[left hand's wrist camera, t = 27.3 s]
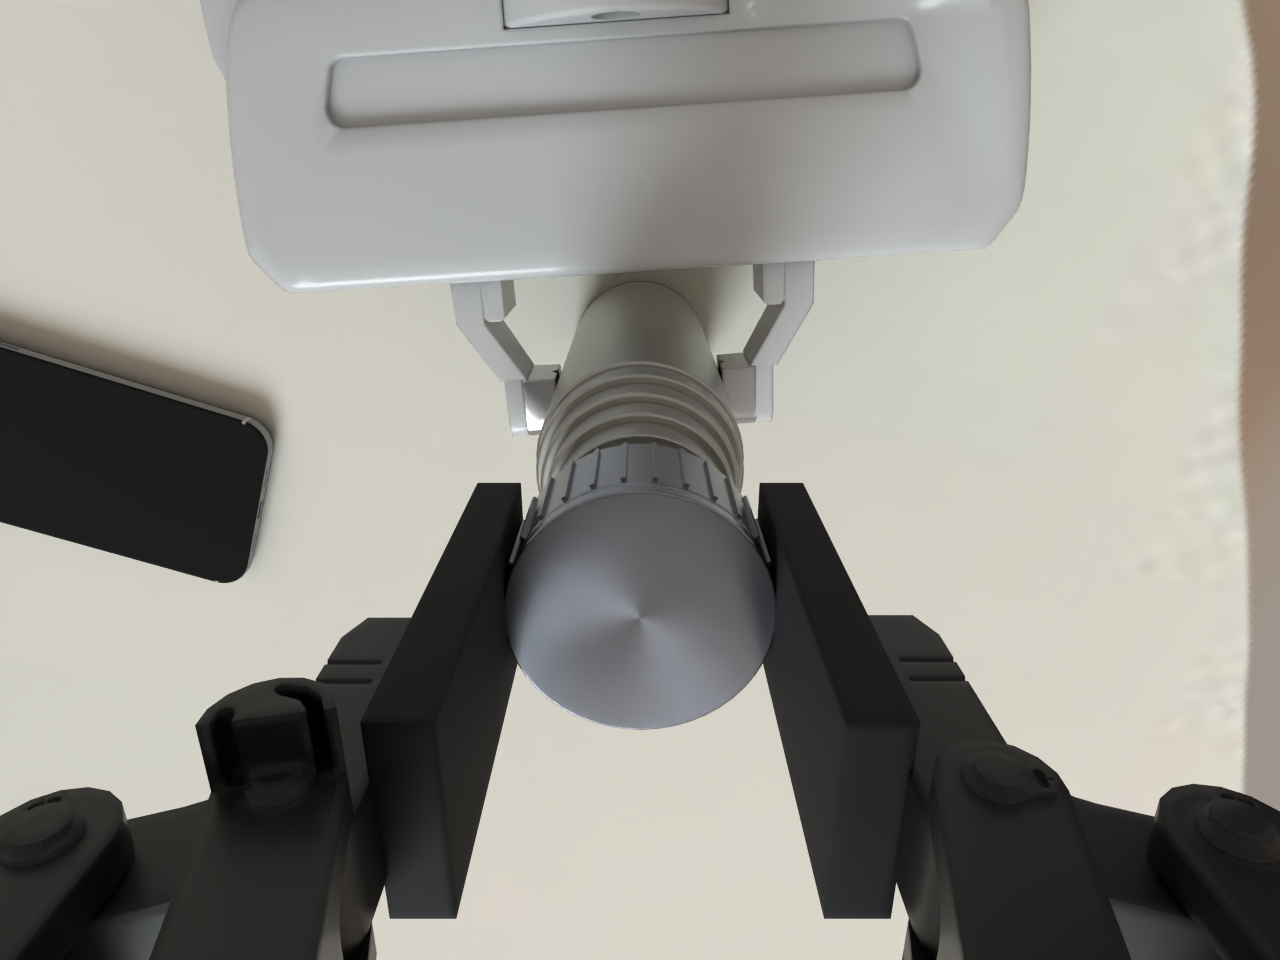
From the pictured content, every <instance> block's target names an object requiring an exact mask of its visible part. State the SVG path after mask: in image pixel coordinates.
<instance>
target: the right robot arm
mask: <svg viewBox="0 0 1280 960" xmlns="http://www.w3.org/2000/svg"><path fill="white" fill-rule="evenodd" d="M200 3H201V7H202V12H203V16H204V21H205V25H206V30H207V34H208V38H209V43H210V47H211V51H212V54H213V57H214V59H215V61H216V63H217V66H218V67H219V69H220V71H221V73H222V75H223V76H224V78H225V79H226V84H227V104H228V118H229V132H230V143H231V152H232V161H233V171H234V178H235V185H236V192H237V199H238V206H239V212H240V218H241V224H242V230H243V234H244V239H245V244H246V247H247V250H248V253H249V255H250V257H251V259H252V260H253V262H254V263H255V264H256V265H257V266H258V267H259V268H260V269H261V270H262V271H263V272H264V273H265V274H266V275H267V276H268V277H269V278H270V279H271V280H272V281H273V282H274V283H275V284H276V285H278V286H279V287H280V288H281V289H282V290H284V291H285V292H288V293H294V294H295V293H313V292H329V291H345V290H360V289H376V288H392V287H407V286H423V285H439V284H451V290H452V297H453V304H454V311H455V318H456V325H457V326H458V328H459V329H460V330H461V332H462V333H463V334H464V335H465V337H466V338H467V339H468V341H469V342H470V343H471V345H472V346H473V347H474V348H475V350H476V351H477V352H478V354H479V355H480V356H481V358H482V359H483V360H484V361H485V363H486V364H487V365H488V367H489V368H490V369H491V371H492V372H493V373H494V374H495V376H496V377H497V378H498V380H499V381H504V383H505V391H506V399H507V407H508V415H509V422H510V430H511V432H512V435H513V436H530V435H540V431H541V428H542V425H543V422H544V420H545V417H546V414H547V411H548V408H549V406H550V403H551V400H552V397H553V394H554V392H555V389H556V386H557V383H558V381H559V378H560V375H561V367H560V364H558V365H534V364H533V362H532V361H531V359H530V358H529V356H528V355H527V353H526V352H525V351H524V349H523V348H522V346H521V345H520V343H519V342H518V340H517V339H516V338H515V336H514V335H513V333H512V332H511V330H510V329H509V327H508V326H507V325H506V323H505V322H504V319H505V317H506V316H507V315H508V314H509V313H510V311H511V310H512V309H513V308H514V306H515V305H516V300H515V290H514V281H513V280H517V279H533V278H549V277H564V276H580V275H596V274H611V273H627V272H643V271H658V270H674V269H690V268H705V267H721V266H737V265H753V284H754V290H755V292H756V293H757V294H758V295H759V297H760V298H761V299H762V300H763V301H764V302H765V303H766V304H767V307H766V308H765V310H764V312H763V314H762V316H761V318H760V320H759V322H758V323H757V325H756V327H755V329H754V331H753V333H752V335H751V337H750V339H749V340H748V342H747V344H746V346H745V348H744V350H743V352H744V353H733V354H721V355H717V369H718V372H719V375H720V378H721V380H722V383H723V386H724V389H725V392H726V394H727V397H728V400H729V403H730V406H731V408H732V411H733V414H734V417H735V419H736V422H737V423H754V422H770V421H771V420H772V416H773V365H776V364H778V363H779V361H780V359H781V358H782V356H783V354H784V352H785V351H786V349H787V347H788V346H789V344H790V342H791V341H792V339H793V337H794V336H795V334H796V332H797V330H798V329H799V327H800V325H801V324H802V322H803V320H804V319H805V317H806V315H807V314H808V312H809V310H810V308H811V307H812V305H813V303H814V261H815V260H831V259H847V258H862V257H878V256H894V255H909V254H925V253H941V252H956V251H971V250H981V249H984V248H986V247H988V246H989V245H990V244H991V243H992V242H993V241H994V240H995V239H996V238H997V236H998V235H999V234H1000V233H1001V232H1002V230H1003V229H1004V228H1005V226H1006V225H1007V224H1008V223H1009V221H1010V220H1011V219H1012V217H1013V216H1014V215H1015V214H1016V212H1017V211H1018V209H1019V207H1020V205H1021V201H1022V198H1023V193H1024V187H1025V180H1026V171H1027V160H1028V148H1029V132H1030V109H1031V40H1030V14H1029V2H1028V0H200Z"/></svg>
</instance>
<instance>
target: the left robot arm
mask: <svg viewBox="0 0 1280 960" xmlns="http://www.w3.org/2000/svg"><path fill="white" fill-rule="evenodd" d="M522 520H523V514H522V496H521V483H477V485H476V487H475V490H474V492H473V494H472V496H471V498H470V500H469V502H468V504H467V506H466V508H465V510H464V512H463V514H462V516H461V518H460V520H459V522H458V524H457V526H456V528H455V530H454V532H453V534H452V536H451V538H450V540H449V542H448V544H447V546H446V548H445V551H444V553H443V555H442V557H441V559H440V561H439V563H438V565H437V567H436V569H435V571H434V573H433V575H432V577H431V579H430V581H429V583H428V585H427V587H426V589H425V591H424V593H423V595H422V597H421V599H420V601H419V603H418V605H417V607H416V610H415V612H414V614H413V616H412V618H367V619H366V620H365V621H363V622H362V623H360V624H359V625H358V626H356V627H355V628H354V629H352V630H351V631H350V632H348V633H347V634H346V635H344V636H343V637H342V638H341V639H340V641H339V643H338V644H337V646H336V647H335V649H334V651H333V652H332V654H331V656H330V657H329V659H328V664H327V665H324V667H323V669H322V670H321V672H320V673H319V675H318V677H317V678H316V681H313V680H310V679H306V678H277V679H273V680H268V681H263V682H259V683H254V684H251V685H249V686H247V687H244V688H242V689H240V690H237V691H235V692H232V693H230V694H228V695H226V696H225V697H224V698H222V699H221V700H219V701H218V702H217V703H215V704H214V705H212V706H211V707H210V708H208V709H207V710H206V712H205V713H204V714H203V716H202V717H201V718H200V720H199V721H198V722H197V724H196V725H195V727H196V731H197V735H198V739H199V743H200V747H201V751H202V756H203V760H204V764H205V768H206V772H207V776H208V780H209V784H210V788H211V794H210V797H209V799H208V800H206V801H203V802H199V803H196V804H192V805H189V806H186V807H182V808H177V809H173V810H169V811H164V812H160V813H155V814H151V815H146V816H142V817H138V818H133V819H129V820H127V818H126V815H125V812H124V808H123V805H122V802H121V801H120V800H119V799H118V798H117V797H116V796H114V795H113V794H112V793H111V792H110V791H106V790H100V789H95V788H90V787H86V788H77V789H68V790H60V791H57V792H54V793H51V794H48V795H45V796H41V797H39V798H35V799H32V800H30V801H28V802H26V803H24V804H22V805H20V806H18V807H16V808H14V809H12V810H11V811H9V812H7V813H5V814H3V815H1V816H0V960H376V954H377V952H376V946H375V939H374V933H373V927H372V919H373V917H374V914H375V911H376V908H377V905H378V902H379V899H380V896H381V894H382V891H383V888H384V885H385V890H386V896H387V903H388V910H389V916H390V919H456V918H457V913H458V909H459V905H460V901H461V897H462V892H463V888H464V884H465V880H466V876H467V872H468V867H469V863H470V859H471V855H472V851H473V847H474V842H475V838H476V834H477V830H478V826H479V822H480V817H481V813H482V809H483V805H484V801H485V797H486V792H487V788H488V784H489V780H490V776H491V772H492V767H493V763H494V759H495V755H496V751H497V747H498V742H499V738H500V734H501V730H502V726H503V722H504V717H505V713H506V709H507V705H508V701H509V697H510V692H511V688H512V684H513V680H514V676H515V672H516V667H517V662H516V659H515V657H514V655H513V653H512V651H511V649H510V646H509V643H508V639H507V630H506V616H505V600H504V593H505V586H506V583H507V580H508V577H509V573H510V570H511V567H509V566H508V563H509V560H510V557H511V553H512V550H513V547H514V544H515V541H516V538H517V535H518V532H519V529H520V525H521V522H522ZM758 522H759V525H760V528H761V531H762V534H763V537H764V540H765V543H766V546H767V549H768V553H769V556H770V559H771V562H772V565H771V566H769V569H770V572H771V576H772V579H773V582H774V585H775V591H776V608H775V623H774V636H773V640H772V644H771V647H770V649H769V651H768V654H767V656H766V658H765V660H764V662H763V665H764V669H765V674H766V678H767V682H768V686H769V690H770V694H771V699H772V703H773V707H774V711H775V715H776V719H777V724H778V728H779V732H780V736H781V740H782V744H783V749H784V753H785V757H786V761H787V765H788V769H789V774H790V778H791V782H792V786H793V790H794V794H795V799H796V803H797V807H798V811H799V815H800V819H801V824H802V828H803V832H804V836H805V840H806V845H807V849H808V853H809V857H810V861H811V865H812V870H813V874H814V878H815V882H816V886H817V890H818V895H819V899H820V903H821V907H822V911H823V915H824V919H891V913H892V906H893V900H894V893H895V887H896V882H897V885H898V888H899V891H900V894H901V897H902V899H903V902H904V905H905V908H906V911H907V914H908V917H909V921H908V927H907V933H906V939H905V945H904V951H903V957H902V960H1280V811H1278V810H1276V809H1274V808H1272V807H1270V806H1268V805H1266V804H1264V803H1262V802H1260V801H1259V800H1257V799H1255V798H1253V797H1251V796H1248V795H1244V794H1242V793H1239V792H1235V791H1232V790H1229V789H1226V788H1222V787H1217V786H1208V785H1198V784H1190V785H1185V786H1179V787H1174V788H1171V789H1170V790H1169V791H1168V792H1167V793H1166V794H1165V795H1163V796H1162V797H1161V798H1160V800H1159V804H1158V807H1157V810H1156V814H1155V817H1153V816H1149V815H1144V814H1140V813H1136V812H1131V811H1127V810H1122V809H1118V808H1113V807H1109V806H1105V805H1100V804H1096V803H1093V802H1089V801H1086V800H1083V799H1079V798H1076V797H1073V796H1071V795H1070V792H1069V790H1068V789H1067V787H1066V786H1065V784H1064V783H1063V781H1062V779H1061V778H1060V776H1059V775H1058V773H1057V772H1055V771H1054V770H1053V769H1052V768H1050V767H1049V766H1048V765H1047V764H1045V763H1044V762H1043V761H1042V760H1040V759H1039V758H1038V757H1036V756H1034V755H1032V754H1030V753H1027V752H1025V751H1023V750H1021V749H1019V748H1017V747H1015V746H1012V745H1008V744H1007V743H1006V742H1005V740H1004V738H1003V737H1002V735H1001V734H1000V732H999V730H998V729H997V727H996V726H995V724H994V722H993V721H992V719H991V718H990V716H989V714H988V713H987V711H986V709H985V708H984V706H983V705H982V703H981V701H980V700H979V698H978V697H977V695H976V693H975V692H974V690H973V688H972V687H971V685H970V684H969V682H968V681H965V676H964V674H963V672H962V671H961V669H960V668H959V666H958V664H957V663H956V662H954V661H953V656H952V655H951V653H950V651H949V650H948V648H947V647H946V645H945V643H944V642H943V640H942V638H941V637H940V635H939V634H937V633H936V632H935V631H933V630H932V629H931V628H929V627H928V626H927V625H925V624H924V623H922V622H921V621H920V620H918V619H917V618H916V617H914V616H913V615H868V614H867V612H866V610H865V608H864V606H863V604H862V602H861V600H860V598H859V596H858V594H857V592H856V590H855V588H854V586H853V584H852V582H851V580H850V578H849V576H848V574H847V572H846V570H845V568H844V566H843V564H842V562H841V560H840V558H839V556H838V554H837V551H836V549H835V547H834V545H833V543H832V541H831V539H830V537H829V535H828V533H827V531H826V529H825V527H824V525H823V523H822V521H821V519H820V517H819V515H818V513H817V511H816V509H815V507H814V505H813V503H812V501H811V499H810V497H809V495H808V493H807V490H806V488H805V486H804V484H803V483H760V488H759V505H758Z"/></svg>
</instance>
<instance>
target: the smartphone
mask: <svg viewBox="0 0 1280 960" xmlns="http://www.w3.org/2000/svg"><path fill="white" fill-rule="evenodd" d="M272 452H273V443H272V439H271V436H270V434H269V432H268V431H267V430H266V428H265V427H264V426H263V425H262V424H261V423H259V422H258V421H256V420H255V419H253V418H250V417H247V416H244V415H241V414H237V413H234V412H231V411H228V410H224V409H221V408H218V407H214V406H211V405H208V404H205V403H201V402H198V401H195V400H191V399H188V398H185V397H182V396H178V395H175V394H172V393H168V392H165V391H162V390H159V389H155V388H152V387H149V386H145V385H142V384H139V383H135V382H132V381H129V380H126V379H122V378H119V377H116V376H112V375H109V374H106V373H103V372H99V371H96V370H93V369H89V368H86V367H83V366H80V365H76V364H73V363H70V362H66V361H63V360H60V359H57V358H53V357H50V356H47V355H43V354H40V353H37V352H33V351H30V350H27V349H24V348H20V347H17V346H14V345H10V344H7V343H4V342H1V341H0V522H2V523H6V524H10V525H13V526H17V527H20V528H24V529H28V530H31V531H35V532H38V533H42V534H46V535H49V536H53V537H56V538H60V539H64V540H67V541H71V542H74V543H78V544H82V545H85V546H89V547H92V548H96V549H100V550H103V551H107V552H110V553H114V554H118V555H121V556H125V557H128V558H132V559H136V560H139V561H143V562H146V563H150V564H154V565H157V566H161V567H164V568H168V569H172V570H175V571H179V572H182V573H186V574H190V575H193V576H197V577H200V578H204V579H208V580H211V581H215V582H219V583H229V582H233V581H236V580H238V579H239V578H241V577H242V576H243V575H244V574H245V573H246V571H247V570H248V569H249V568H250V566H251V564H252V560H253V554H254V549H255V544H256V538H257V533H258V527H259V522H260V517H261V511H262V506H263V500H264V495H265V489H266V484H267V479H268V473H269V468H270V462H271V457H272Z"/></svg>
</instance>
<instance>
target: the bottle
mask: <svg viewBox="0 0 1280 960" xmlns="http://www.w3.org/2000/svg"><path fill="white" fill-rule="evenodd" d="M624 442H627V443H628V445H629V444H651V443H652V442H656V443H657V445H662V446H666V447H671V448H675V449H678V450H679V449H680V448H683V449H685V452H687V453H690V454H692V455H694V456H696V457H698V458H700V459H702V460H704V461H705V460H706V459H707V460H709V461H710V463H711V465H712V466H713V467H715V468H716V469H717V470H719V471H720V472H721V473H722V474H723V475H725V476H726V477H727V476H728V475H729V476H730V477H731V478H732V481H733V485H734V486H735V487H736V488H737V489H738V490H739V492H740V493H741V490H742V485H743V476H744V465H743V461H744V454H743V443H742V439H741V434H740V431H739V428H738V425H737V422H736V419H735V417H734V414H733V411H732V408H731V406H730V403H729V400H728V397H727V394H726V392H725V389H724V386H723V383H722V380H721V378H720V375H719V372H718V369H717V367H716V364H715V361H714V358H713V355H712V353H711V350H710V347H709V344H708V341H707V339H706V336H705V333H704V330H703V327H702V325H701V322H700V320H699V318H698V316H697V314H696V312H695V311H694V309H693V308H692V306H691V305H690V304H689V303H688V302H687V301H686V300H685V299H684V298H683V297H682V296H681V295H679V294H678V293H676V292H675V291H673V290H672V289H670V288H667V287H665V286H663V285H660V284H656V283H651V282H628V283H624V284H620V285H618V286H615V287H613V288H611V289H609V290H607V291H605V292H604V293H602V294H601V295H600V296H598V297H597V298H596V299H595V300H594V301H593V302H592V303H591V304H590V305H589V307H588V308H587V309H586V311H585V312H584V314H583V316H582V318H581V320H580V322H579V325H578V328H577V330H576V333H575V336H574V339H573V342H572V344H571V347H570V350H569V353H568V355H567V358H566V361H565V364H564V367H563V369H562V372H561V375H560V378H559V381H558V383H557V386H556V389H555V392H554V394H553V397H552V400H551V403H550V406H549V408H548V411H547V414H546V417H545V420H544V422H543V425H542V428H541V431H540V435H539V439H538V445H537V466H536V471H537V484H538V490H539V494H540V492H541V491H542V489H543V488H544V487H545V486H546V484H547V480H548V478H549V477H550V476H552V477H554V476H556V475H557V474H558V473H559V472H560V471H562V470H563V469H564V468H565V467H567V466H568V465H569V462H570V461H571V460H574V461H576V460H578V459H580V458H582V457H584V456H586V455H589V454H591V453H593V452H594V450H595V449H597V448H599V449H600V450H602V449H605V448H610V447H615V446H620V445H622V444H623V443H624Z"/></svg>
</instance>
